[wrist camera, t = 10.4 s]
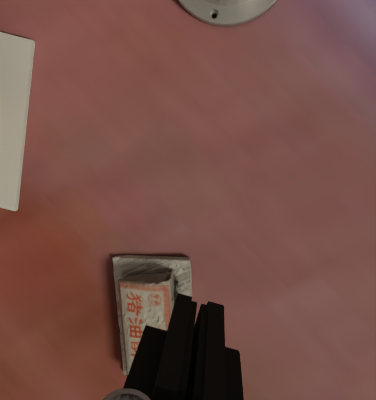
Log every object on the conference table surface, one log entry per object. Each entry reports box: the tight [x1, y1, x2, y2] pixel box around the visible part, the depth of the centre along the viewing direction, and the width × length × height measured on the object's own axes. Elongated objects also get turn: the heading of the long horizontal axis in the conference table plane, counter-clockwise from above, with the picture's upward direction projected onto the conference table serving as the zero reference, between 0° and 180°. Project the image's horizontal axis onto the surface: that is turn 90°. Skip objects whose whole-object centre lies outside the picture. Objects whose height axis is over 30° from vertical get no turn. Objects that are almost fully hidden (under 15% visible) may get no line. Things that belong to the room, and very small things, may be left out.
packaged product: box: [112, 255, 192, 376], centre depth 41 cm, size 18×5×10 cm
